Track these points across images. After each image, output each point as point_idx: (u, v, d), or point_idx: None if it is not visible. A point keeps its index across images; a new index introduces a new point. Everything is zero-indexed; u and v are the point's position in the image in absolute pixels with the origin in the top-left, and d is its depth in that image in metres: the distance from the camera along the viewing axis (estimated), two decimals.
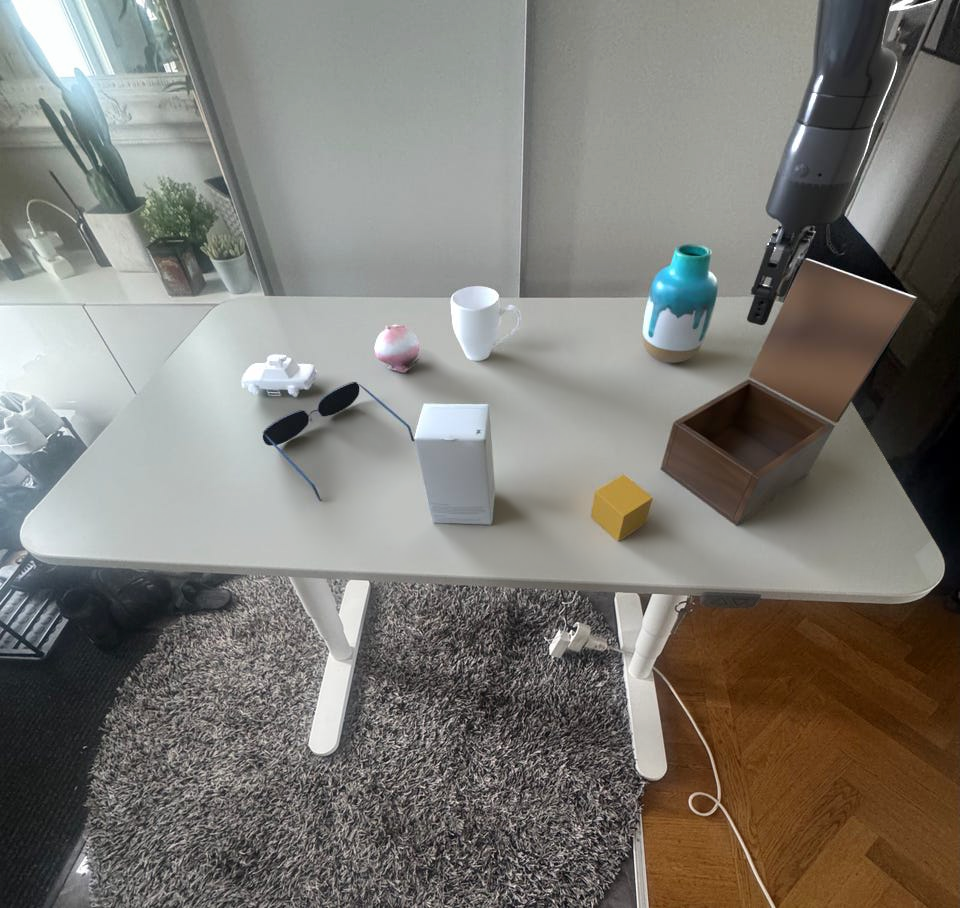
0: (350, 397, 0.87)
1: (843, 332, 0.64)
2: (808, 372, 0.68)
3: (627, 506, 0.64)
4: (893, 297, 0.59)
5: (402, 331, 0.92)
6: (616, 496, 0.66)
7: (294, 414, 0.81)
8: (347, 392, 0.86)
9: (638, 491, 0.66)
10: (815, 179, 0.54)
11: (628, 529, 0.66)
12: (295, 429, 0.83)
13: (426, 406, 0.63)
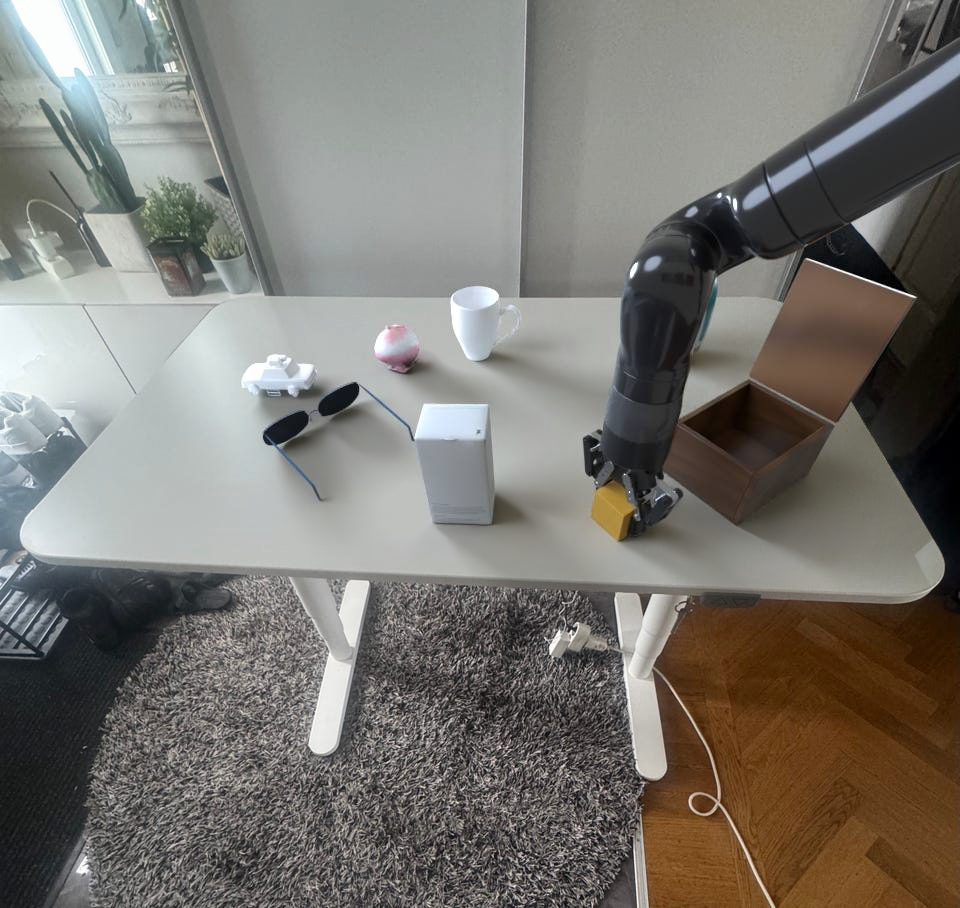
0: (350, 397, 0.87)
1: (843, 332, 0.64)
2: (808, 372, 0.68)
3: (627, 506, 0.64)
4: (893, 297, 0.59)
5: (402, 331, 0.92)
6: (616, 496, 0.66)
7: (294, 414, 0.81)
8: (347, 392, 0.86)
9: None
10: (672, 432, 0.55)
11: (627, 529, 0.66)
12: (295, 429, 0.83)
13: (426, 406, 0.63)
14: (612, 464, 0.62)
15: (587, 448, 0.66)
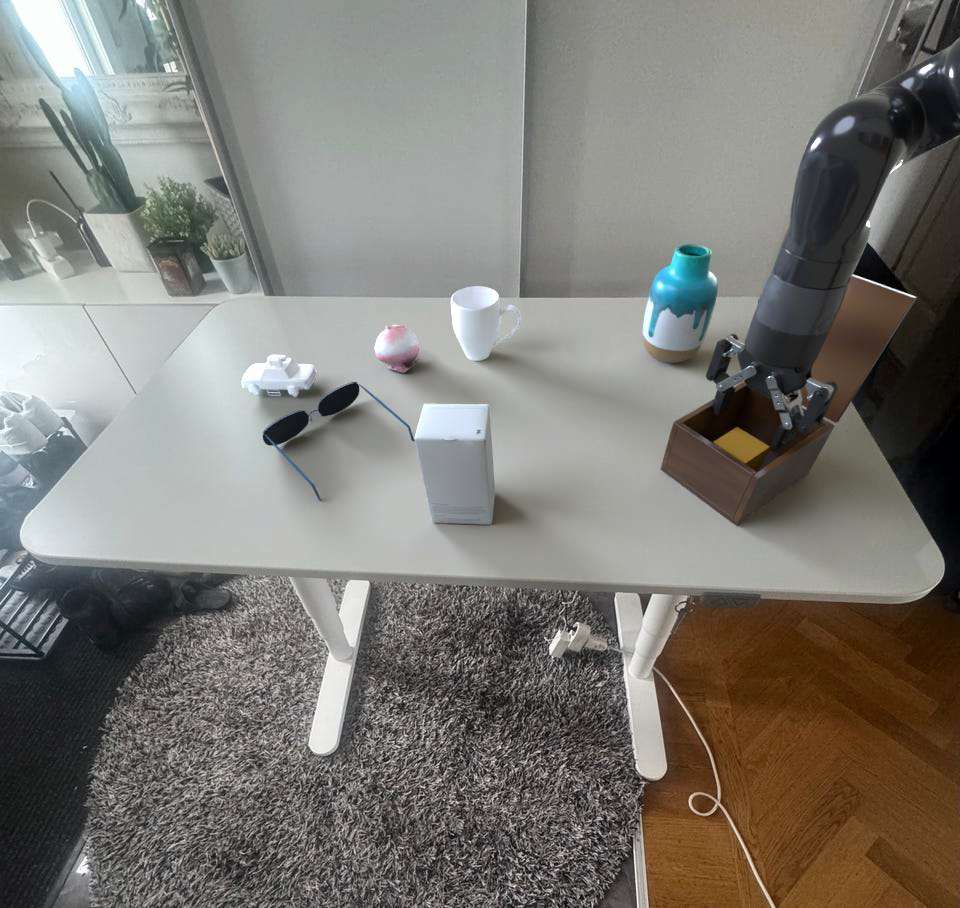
0: (350, 397, 0.87)
1: (843, 332, 0.64)
2: None
3: (747, 454, 0.69)
4: (893, 297, 0.59)
5: (402, 331, 0.92)
6: (735, 446, 0.70)
7: (294, 414, 0.81)
8: (347, 392, 0.86)
9: (755, 441, 0.70)
10: (831, 325, 0.55)
11: None
12: (295, 429, 0.83)
13: (426, 406, 0.63)
14: (755, 369, 0.62)
15: (720, 352, 0.65)
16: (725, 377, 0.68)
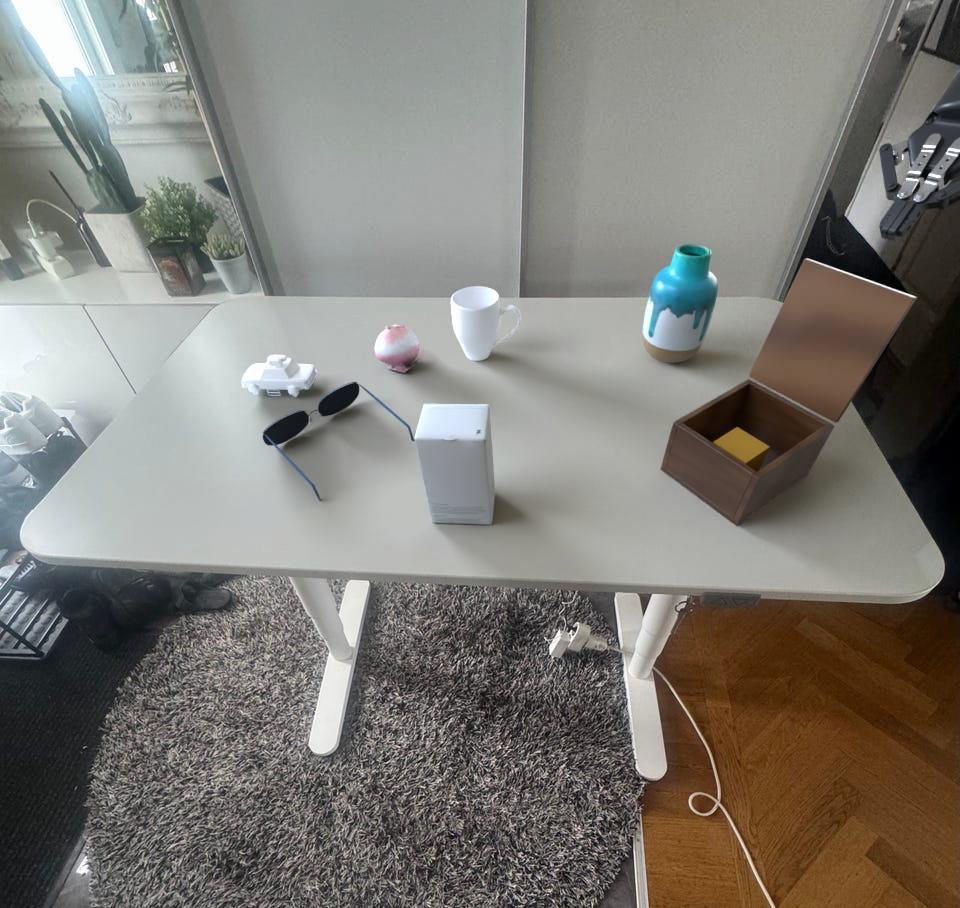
0: (350, 397, 0.87)
1: (843, 332, 0.64)
2: (808, 372, 0.68)
3: (747, 454, 0.69)
4: (893, 297, 0.59)
5: (402, 331, 0.92)
6: (735, 446, 0.70)
7: (294, 414, 0.81)
8: (347, 392, 0.86)
9: (755, 441, 0.70)
10: None
11: None
12: (295, 429, 0.83)
13: (426, 406, 0.63)
14: (937, 134, 0.59)
15: (888, 154, 0.62)
16: None
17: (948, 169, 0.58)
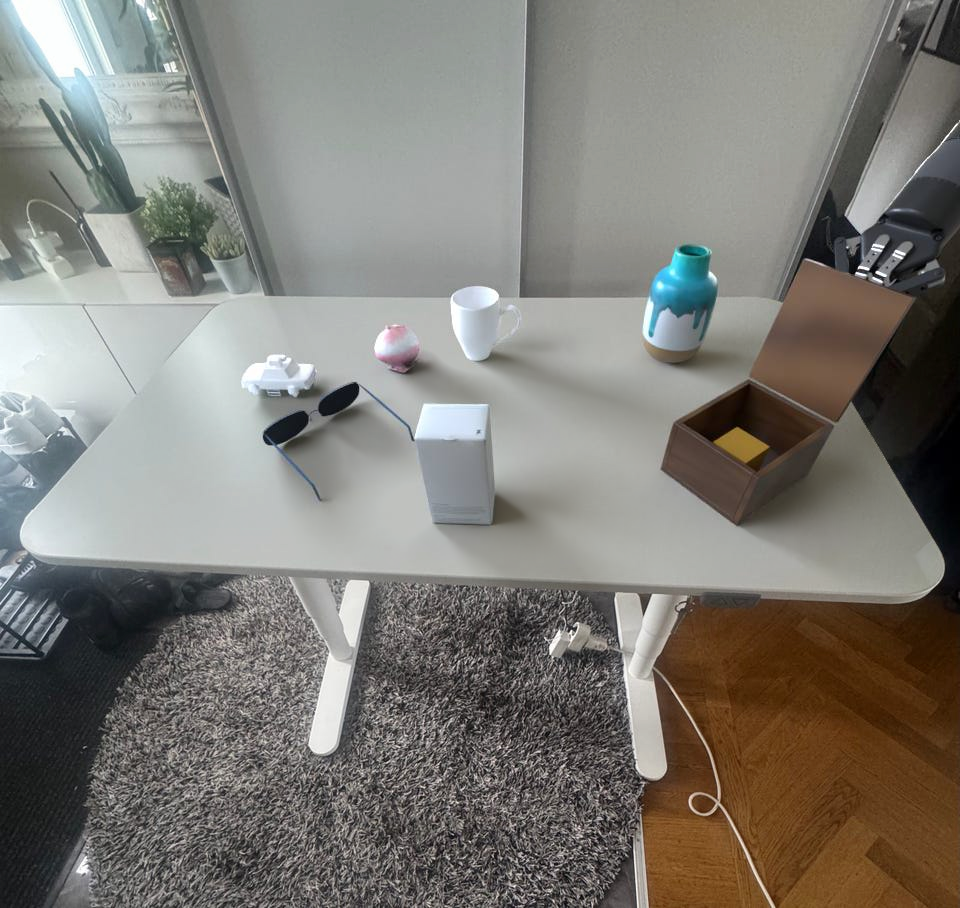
0: (350, 397, 0.87)
1: (843, 332, 0.63)
2: (807, 372, 0.68)
3: (747, 454, 0.69)
4: (892, 297, 0.58)
5: (402, 331, 0.92)
6: (735, 446, 0.70)
7: (294, 414, 0.81)
8: (347, 392, 0.86)
9: (755, 441, 0.70)
10: None
11: None
12: (295, 429, 0.83)
13: (426, 406, 0.63)
14: (886, 235, 0.62)
15: (842, 247, 0.65)
16: None
17: (893, 269, 0.62)
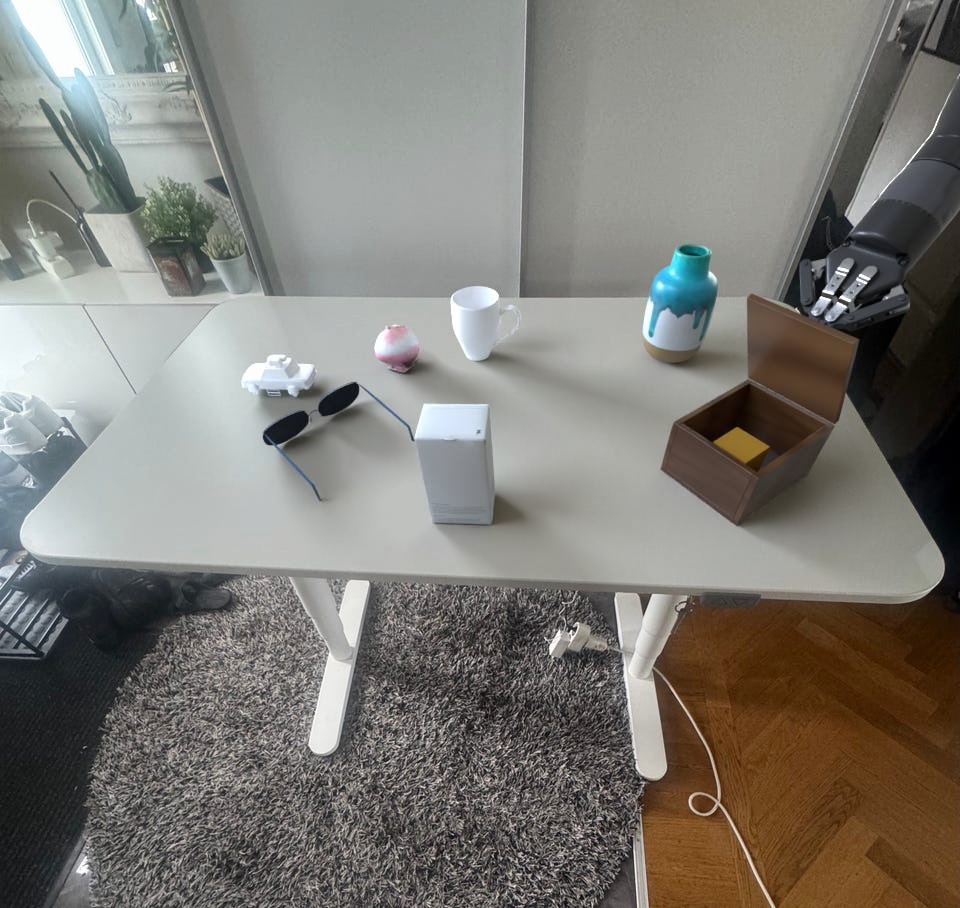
0: (350, 397, 0.87)
1: (807, 359, 0.62)
2: (794, 384, 0.68)
3: (747, 454, 0.69)
4: (836, 341, 0.56)
5: (402, 331, 0.92)
6: (735, 446, 0.70)
7: (294, 414, 0.81)
8: (347, 392, 0.86)
9: (755, 441, 0.70)
10: None
11: None
12: (295, 429, 0.83)
13: (426, 406, 0.63)
14: (851, 259, 0.60)
15: (807, 270, 0.64)
16: None
17: (858, 294, 0.60)
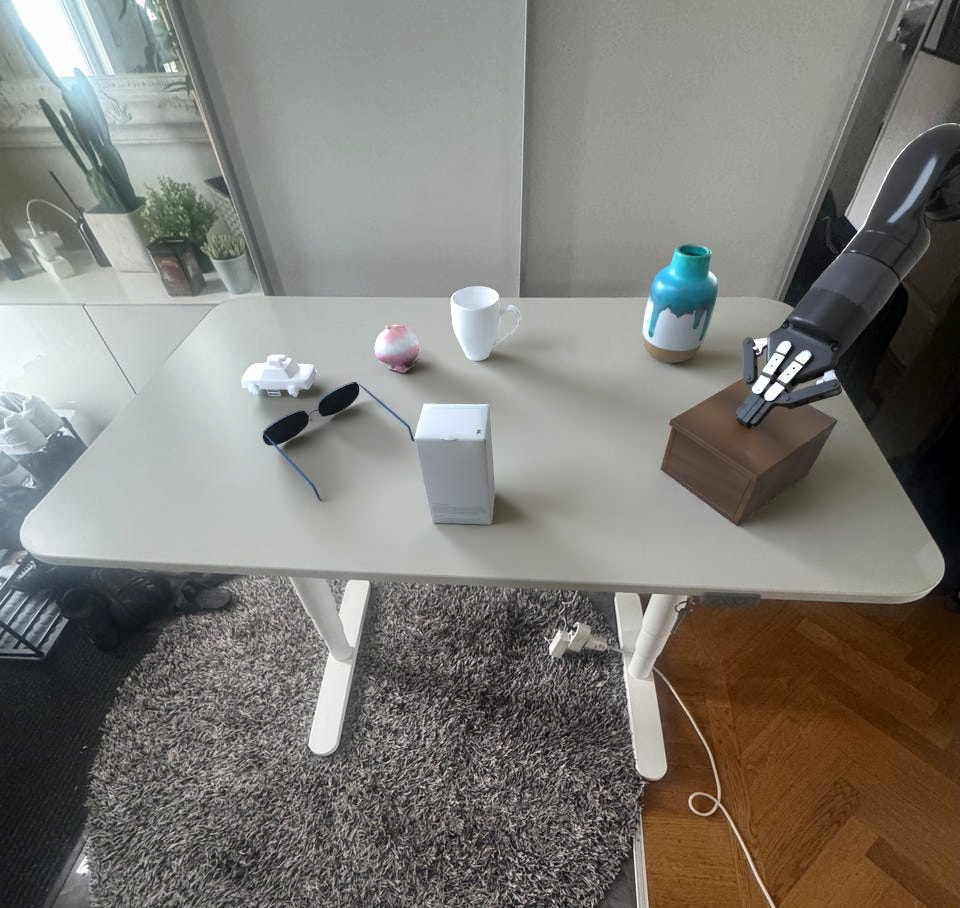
0: (350, 397, 0.87)
1: None
2: None
3: None
4: None
5: (402, 331, 0.92)
6: None
7: (294, 414, 0.81)
8: (347, 392, 0.86)
9: None
10: None
11: None
12: (295, 429, 0.83)
13: (426, 406, 0.63)
14: (788, 342, 0.63)
15: (749, 348, 0.67)
16: None
17: (794, 376, 0.63)
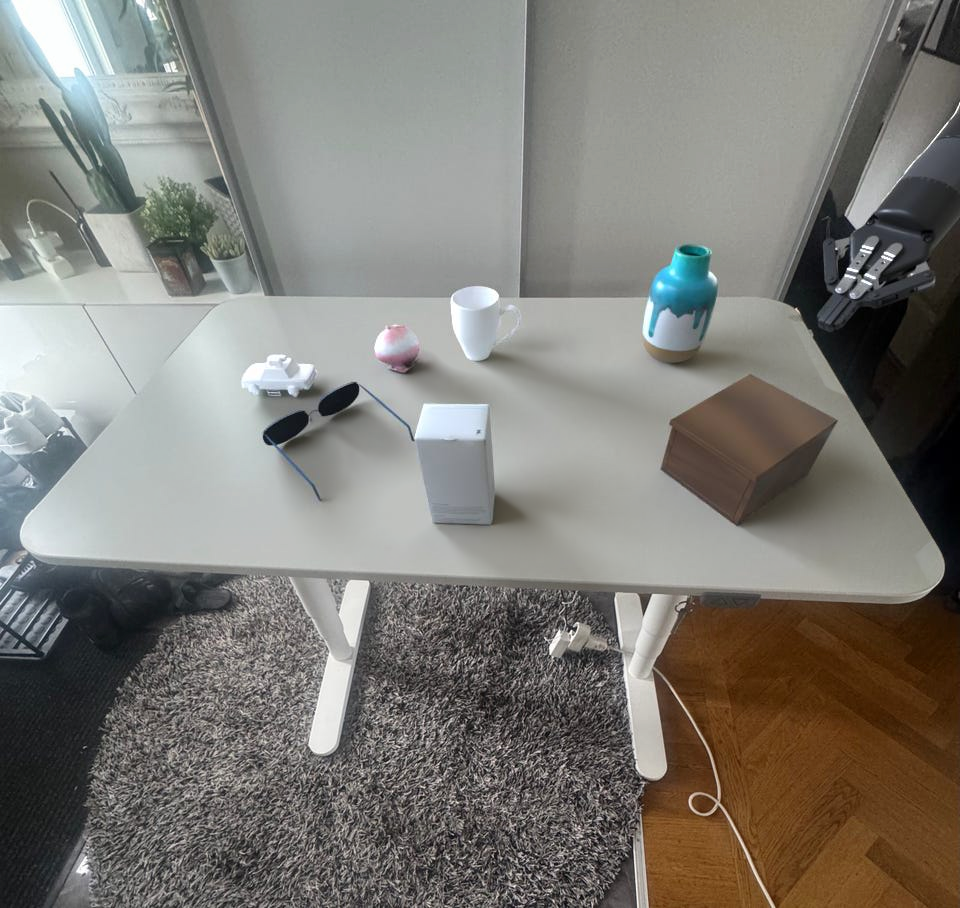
0: (350, 397, 0.87)
1: None
2: None
3: None
4: None
5: (402, 331, 0.92)
6: None
7: (294, 414, 0.81)
8: (347, 392, 0.86)
9: None
10: None
11: None
12: (295, 429, 0.83)
13: (426, 406, 0.63)
14: (876, 236, 0.61)
15: (831, 249, 0.64)
16: None
17: (883, 271, 0.60)
